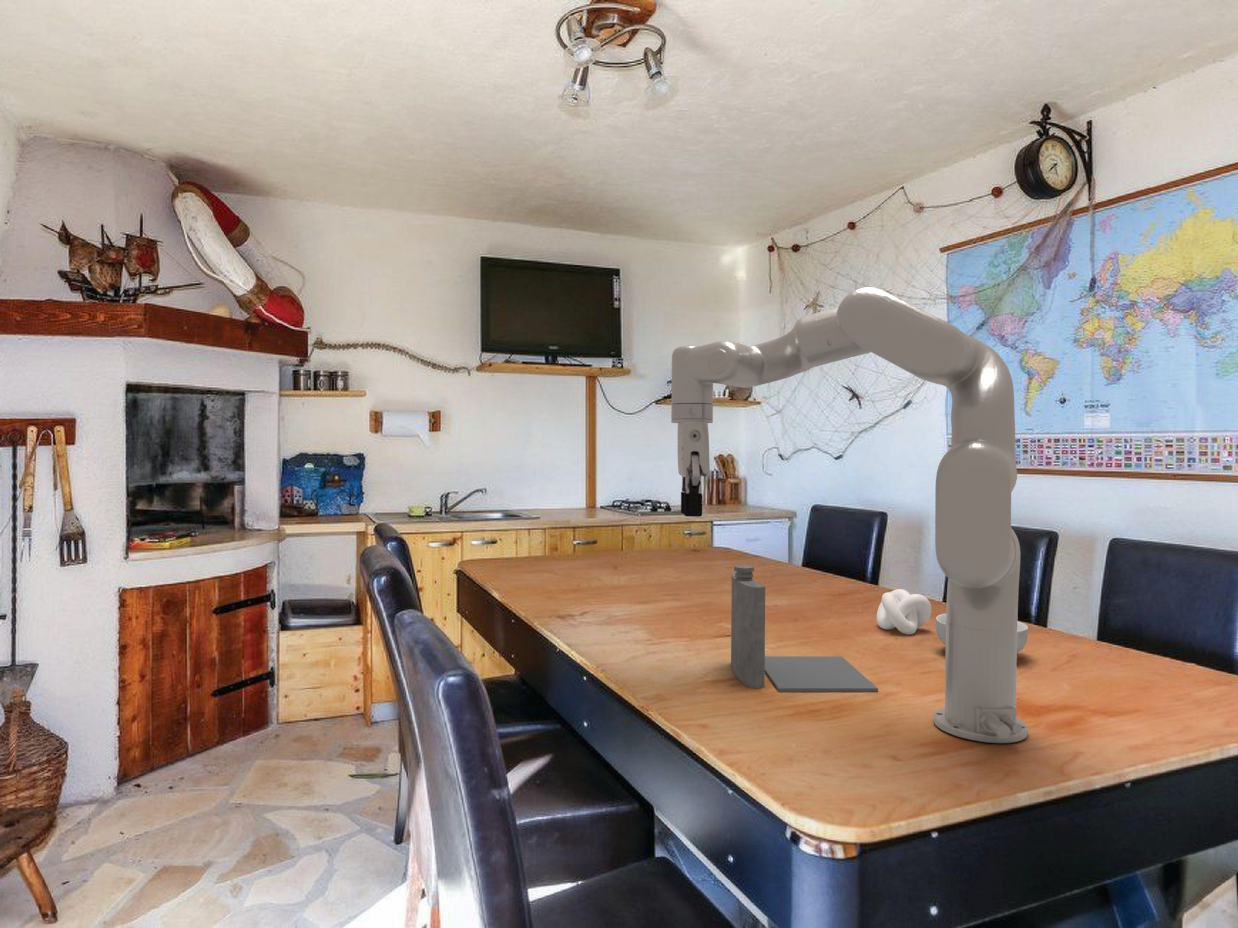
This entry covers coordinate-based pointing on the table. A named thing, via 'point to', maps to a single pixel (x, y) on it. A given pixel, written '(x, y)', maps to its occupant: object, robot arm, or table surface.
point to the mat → (815, 674)
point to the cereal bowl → (1021, 631)
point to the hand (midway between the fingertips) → (691, 513)
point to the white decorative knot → (903, 611)
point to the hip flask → (748, 627)
